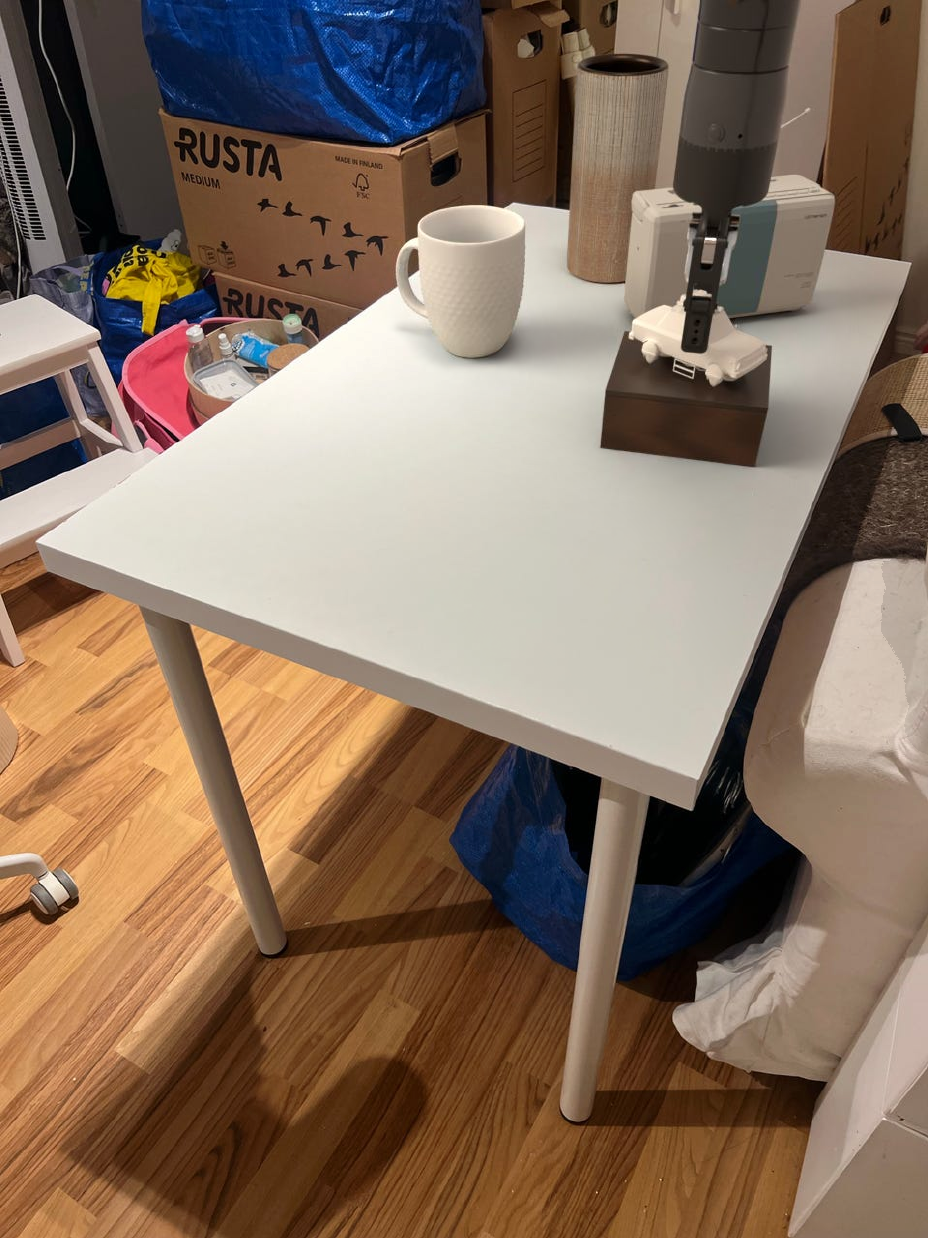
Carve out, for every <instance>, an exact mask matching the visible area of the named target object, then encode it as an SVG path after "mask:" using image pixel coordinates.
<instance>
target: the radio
mask: <svg viewBox="0 0 928 1238" xmlns="http://www.w3.org/2000/svg"><path fill="white" fill-rule="evenodd" d="M811 112H812V110H811V108H810V107H808V108H806V109H804V112H802V113H801V114H799V115H798V116H796V117H794V118H792V119H791V120H789V121H787V122H786V123H784V124H783V123H782V124H781V129H780V131H782V130H783V129H784V128H786V127H787V126H788V125H790V124H792V123H794V122H795V121H797V119H799V118H801V117H802V116H803V115H808V114H810V113H811ZM835 205H836V198H835V194H833V193H832V192H830V191H829V190H827V189H825V188H823V187H821V184H818V183H817V182H815V181H813V180H811V179H809V178H807V177H805V176H803V175H801V174H800V175H799V174H788V175H777V176H771V181H770V186H769V191H768V194H767V195H766V197H765V198H764V199H763V200H761V201H760V202H758V203H756V204H753V205H750V206H746V207H743V206H739V207H736V208H734V209H732V213H731V214H732V215H740V221H739V229H738V234H737V240H736V245H735V248H734V249H733V250H732V251H731V257H730V262H729V268H728V274H727V279H726V282H725V283H724V284H723V285H721V286H720V287H719V289H718V295H717V301H716V302H718V306H719V307H724V311H725V313H726V315H727V316H728V318H729V319H733V318H741V317H749V316H756V315H765V314H771V313H779V312H787V311H790V312H794V311H795V310H800V309H801V308H802V307H803V306H807V305H810V303H811V302H812V300H813V296H814V295H815V294H814V293H815V291H816V286H817V283H818V280H819V275H820V272H821V268H822V263H823V259H824V255H825V251H826V247H827V243H828V239H829V233H830V230H831V225H832V222H833V221H832V220H833V217H834V212H835V211H834V210H835ZM632 211H633V212H632V222H631V232H630V242H629V252H628V263H627V273H626V281H625V285H624V293H623V294H624V295H623V300H624V303H625V306H626V308H627V310H628V312H629V313H630V314H631V316H632V317H633V319H636V318H637V317H639V316H641V315H642V314H644V313H646V312H648V311H650V310H652V309H655V308H657V307H659V306H662V305H667V306H670V307H674V306H675V305H677V301H680V298H681V296H682V295H683V294H685V295H686V293H687V286H688V282H686V281H685V278H684V274H685V267H686V261H687V255H688V249H689V247H688V245H687V236H688V230H689V224H690V222H691V218H692V212H702V210H701V207H700V206H699V205H697V204H695V203H688V202H686V201H684V200H682V199H681V198H679V197H678V196H677V195H676V194H675V192H674V190H673V186H672V187H664V188H662V187H661V188H655V189H653V190H643V191H636V192H635V193H634V194H633V198H632Z"/></svg>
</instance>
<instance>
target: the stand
mask: <svg viewBox="0 0 928 1238" xmlns="http://www.w3.org/2000/svg"><path fill="white" fill-rule="evenodd" d="M630 332H631V331H628V330H624V332H623V333H622V334H623V335H622V338H621V341H620V344H619V347H618V350H617V353H616V357H615V360H614V362H613V365H612V369H611V372H610V375H609V378H608V381H607V384H606V387H605V392H604V400H603V401H604V403H603V413H602V424H601V434H600V444H599V447H600V448H601V449H602V448H603V449H611V450H617V451H627V452H634V453H642V454H651V455H657V456H666V457H672V458H673V457H674V458H683V459H691V460H697V461H705V462H712V463H713V462H714V463H720V464H722V463H723V464H728V465H729V464H730V465H737V466H745V467H753V468H754V467H756V463H757V459H758V455H759V452H760V451H759V450H760V447H761V442H762V437H763V433H764V428H765V423H766V419H767V415H768V411H769V404H770V401H769V400H770V386H771V369H772V353H773V346H772V345H771V344H765V345H766V347H765V348H767V353H766V354H768V355H767V359H766V360H765V361H764V362H763V363H761V364H760V365H759V366H757V367H756V368H754V369H753V370H751V371H749V372H748V373H746V374H745V375H743V376H741V377H740V378H738V379H736V380H735V381H725V380H724V379H723V381H722V382H721V383H719V384H717V385H716V386H714V387H713V386H712V385H711V384H710V381H709V379H708V380H707V377H706V375H705V372H706V371H699V370H698V369H696V368H695V373H694V379H692V378H689V377H687V376H684V375H682V374H685V375H688V376H690V377H693V373H691V372H689V371H686V370H684V369H681V368H678V367H676V366H675V367H674V370H675V371H677V372H680V373H682V374H679V373H677V372H674V371H673V366H674V360H675V357H672V356H669V357H666V356H660V355H659V357H658V359H656V360H654V361H653V362H652V363H648V362H647V360H646V356H645V357H643V353H642V346H643V344H644V343H645V342H647V341H648V340H647V341H645V342H644V343H643V342H642V341H640V340H638V339H636V338H635V339H634V340H632V339H629V333H630ZM678 360H680V359H678ZM682 361H683V360H682ZM683 362H685V361H683ZM686 363H688V362H686ZM675 364H676V365H679V366H681V367H684V368H686V369H689V370H692V371H694V367H692V366H686V365H685V364H683V363H682V362H680V361H677V360H676V361H675ZM689 364H690V363H689ZM687 365H688V364H687ZM691 365H692V364H691ZM699 369H703V370H706V369H704V368H699Z"/></svg>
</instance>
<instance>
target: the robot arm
mask: <svg viewBox="0 0 928 1238" xmlns="http://www.w3.org/2000/svg"><path fill="white" fill-rule="evenodd" d="M801 5H802V0H699V6H698V11H697V21H696V28H695V36H694V37H695V38H694V44H693V45H694V46H693V53H692V59H691V60H692V61H691V66H690V71H689V74H688V75H689V76H688V79H687V83H686V87H685V91H684V95H683V96H684V97H683V102H682V110H681V118H680V125H679V133H678V142H677V150H676V156H675V165H674V172H673V173H674V174H673V182H672V187H673V190H674V192H675V194H676V195H677V196H678V197H679V198H681V199H682V200H684V201H686V202H688V203H695V204H697V205H699V206H700V207H701V210H702V212H692V218H691V222H690V224H689V230H688V236H687V245H688V247H689V249H688V255H687V261H686V267H685V274H684V278H685V281H686V282H688V286H687V293H686V299H685V300H684V302H683V307H684V312H686V315H685V322H684V328H683V335H682V342H681V350H682V351H683V352H687V353H697V354H703V353H705V352H706V351H707V347H708V341H709V335H710V329H711V323H712V317H713V314H714V313H715V310H717V307H718V302H716V301H717V295H718V289H719V287H720V286H721V285H723V284H724V283H725V282H726V279H727V274H728V268H729V262H730V257H731V251H732V250H733V249H734V248H735V245H736V240H737V234H738V229H739V221H740V215H732V214H731V213H732V209H734V208H736V207H739V206H743V207H746V206H750V205H753V204H756V203H758V202H760V201H761V200H763V199H764V198H765V197H766V195H767V194H768V191H769V186H770V181H771V177H773V176H772V175H773V171H774V165H775V159H776V154H777V150H778V145H779V139H780V135H781V134H780V133H781V130H782V129H781V126H782V125H783V118H784V113H785V109H786V102H787V94H788V79H789V71H790V63H791V58H792V53H793V48H794V43H795V38H796V34H797V28H798V21H799V16H800V11H801ZM780 129H781V130H780ZM696 289H697V290H703V291H706V292H707V293H708V294H712V296H711V297H708V296H696V295H693V293H694V290H696Z"/></svg>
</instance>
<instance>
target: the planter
mask: <svg viewBox="0 0 928 1238" xmlns="http://www.w3.org/2000/svg"><path fill="white" fill-rule="evenodd" d="M669 67H670V66H669V63H668V62H667V61H666V60H665V59H663V58H661V57H657V56H653V55H649V54H641V53H605V54H598V55H593V56H592V55H591V56H588V57H585V58H582V59H581V60H580V61H579V62H578V63H577V67H576V80H575V81H576V82H575V83H576V84H575V85H576V86H575V102H574V119H573V138H572V139H573V140H572V156H571V157H572V160H571V174H570V175H571V176H570V193H569V195H570V196H569V210H568V212H569V215H568V232H567V233H568V234H567V247H566V250H567V251H566V268H567V271H569V273H570V274H571V275H573V276H575V277H576V278H579V279H581V280H583V281H588V282H593V283H601V284H617V283H624V282H626V273H627V263H628V252H629V242H630V232H631V222H632V212H633V211H632V198H633V194H634V193H635V192H636V191H643V190H653V189H656V184H657V175H658V167H659V158H660V149H661V141H662V140H661V139H662V130H663V123H664V114H665V106H666V105H665V104H666V96H667V87H668V78H669V69H670V68H669Z"/></svg>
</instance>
